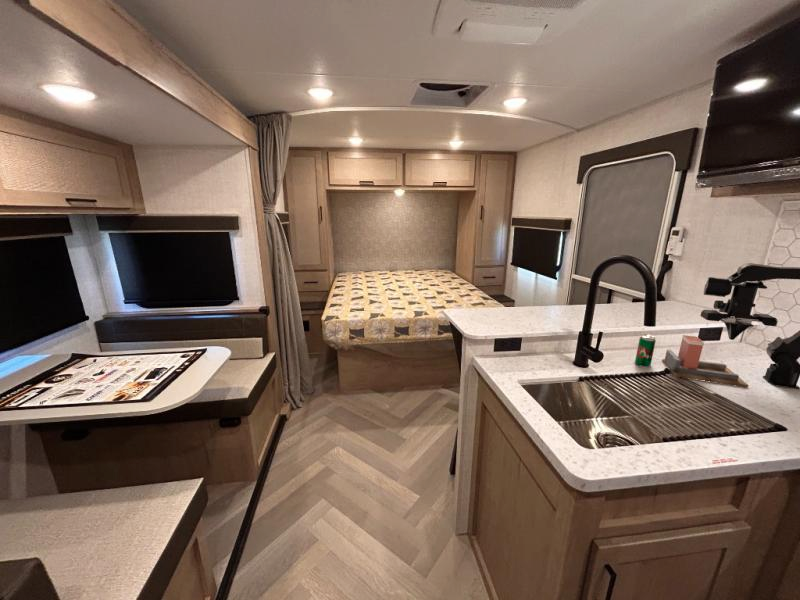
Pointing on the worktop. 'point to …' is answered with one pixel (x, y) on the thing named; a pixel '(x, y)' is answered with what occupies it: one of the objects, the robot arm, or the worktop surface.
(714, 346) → the worktop surface
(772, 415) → the worktop surface
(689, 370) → the guide rails
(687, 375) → the board
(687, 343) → the red plug
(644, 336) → the soda can
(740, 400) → the worktop surface
